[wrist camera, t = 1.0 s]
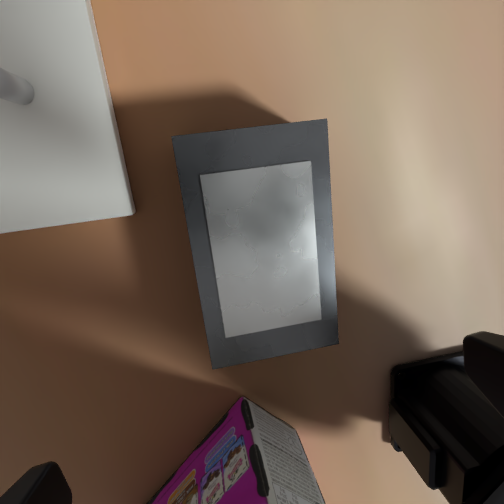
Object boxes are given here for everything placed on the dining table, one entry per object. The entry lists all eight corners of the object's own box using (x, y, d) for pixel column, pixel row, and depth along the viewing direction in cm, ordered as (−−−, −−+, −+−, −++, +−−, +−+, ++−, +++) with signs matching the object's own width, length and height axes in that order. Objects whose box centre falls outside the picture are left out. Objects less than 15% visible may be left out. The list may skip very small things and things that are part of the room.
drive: (296, 127, 17) (328, 118, 13) (310, 308, 20) (339, 344, 16) (176, 142, 16) (171, 136, 12) (208, 327, 19) (212, 370, 15)
